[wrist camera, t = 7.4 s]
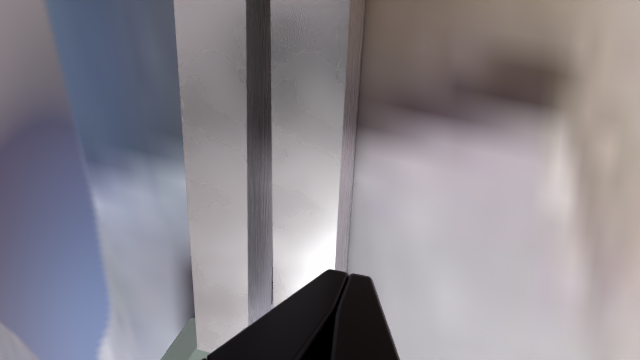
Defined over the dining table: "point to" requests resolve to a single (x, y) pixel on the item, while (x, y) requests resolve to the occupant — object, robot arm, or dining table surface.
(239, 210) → the tongs fixed arm
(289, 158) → the tong arm
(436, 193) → the dining table surface
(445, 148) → the dining table surface
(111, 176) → the dining table surface
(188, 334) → the lock clip
